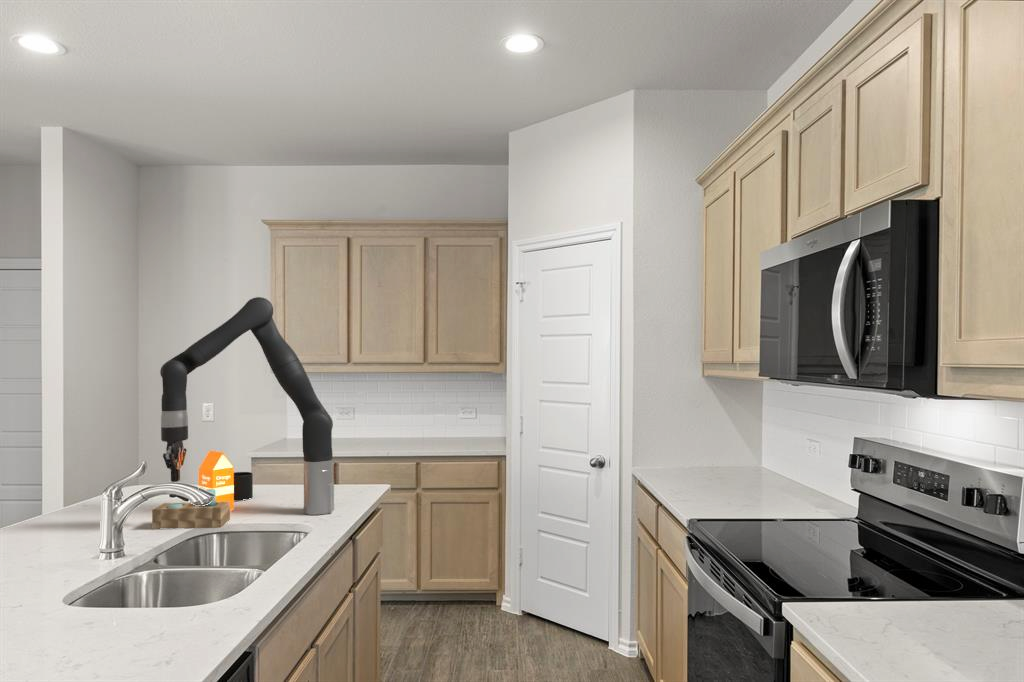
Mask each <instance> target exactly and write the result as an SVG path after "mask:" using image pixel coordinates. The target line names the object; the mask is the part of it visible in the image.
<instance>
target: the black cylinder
mask: <svg viewBox="0 0 1024 682" xmlns="http://www.w3.org/2000/svg"><path fill="white" fill-rule="evenodd" d="M253 481H254V480H253V472H250V471H236V472H234V500H243V499H249V498H251V499H253V497H254V496H253V494H254V493H253V492H254V491H253V490H254V489H253V487H254V486H253V485H254V483H253ZM249 500H250V499H249Z"/></svg>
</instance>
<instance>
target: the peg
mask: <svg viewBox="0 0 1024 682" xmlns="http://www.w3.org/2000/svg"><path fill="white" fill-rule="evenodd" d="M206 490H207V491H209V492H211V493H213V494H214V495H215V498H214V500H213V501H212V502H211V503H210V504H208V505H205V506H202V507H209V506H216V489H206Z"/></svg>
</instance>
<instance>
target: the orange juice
mask: <svg viewBox="0 0 1024 682" xmlns="http://www.w3.org/2000/svg"><path fill="white" fill-rule="evenodd" d="M234 470H235V469H234V466H233V464H232V463H231V462H230V460H229V459H228V458H227V455H226V454H225V453H224V452H222V451H216V450H215V451H214V450H209V451H208V453H207V454H206V456H205V457H204V459H203V461H202V462H201V464H200V466H199V467H198V488H199V487H203V488H205V489H216V502H226V501H230V510H231V509H235V508H234V507H235V506H234V503H235V501H234V473H235V472H234Z"/></svg>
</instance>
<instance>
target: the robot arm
mask: <svg viewBox="0 0 1024 682" xmlns="http://www.w3.org/2000/svg"><path fill="white" fill-rule="evenodd" d="M273 315H274V306H273V305H272V303H271V301H270V300H269V299H268V298H264V297H261V296H256V297H253V298H251V299H249V300H248V301H247V302H246V303H245V304H244V305H243V306H242V307H241V308H240V309H239V310H238V311H237V312H236V313H235V314H234V315H233V316H231V317H230V318H228V320H226V321H225V322H223V323H222V324H221V325H219V326H218V327H216V328H215V329H213V330H211V332H209V333H207V334H206V335H204V336H203V337H201V338H200V339H199V340H197V341H196V342H194V343H193V344H191V345H190V346H188V347H187V348H186V349H185V350H184V351H182V352H180V353H179V354H177V355H175V356H174V357H172V358H171V359H169V360H167V361H166V362H165V363H164V364H163V365H162V366H161V367H160V370H159V373H160V377H161V378H162V394H161V413H160V414H161V415H160V435H161V436H160V437H161V439H160V440H161V442H166V447H165V453H163V454H162V457H163V460H164V463H165V467H166V468H167V469H169V470H170V482H172V483H175V482H176V483H177V482H180V481H181V469H182V466H184V462H185V459H186V455H187V451H188V450H187V448H184V443H183V442H184V441H187V440H188V439H189V417H188V410H187V409H188V408H187V407H188V405H187V383H188V375H189V374H190V373H192V372H193V371H195V370H196V369H197V368H199V367H202V366H203V365H205V364H207V363H208V362H209V361H211V360H212V359H214V358H215V357H216V356H218V355H220V353H221V352H223V351H224V350H225V349H227V348H228V346H230V345H231V344H232V343H233V342H235V341H236V340H237V339H238V338H239V337H241V336H243V335H244V334H245V333H247V332H249V331H251V333H252V334H253V336H254V337H255V339H256V340H257V341H258V344H259V345H260V348H261V349H262V352H263V354H264V356H265V359H266V361H267V363H268V365H269V367H270V369H271V371H272V373H273V375H274V376H275V378H276V380H277V382H278V384H279V385H280V387H281V388H282V389H283V391H284V392H285V394H287V396H288V397H289V398H290V399H291V401H292V402H293V403H294V404H295V407H296V408H297V410H298V412H299V414H300V416H301V419H302V421H303V423H302V429H301V430H302V431H301V432H302V453H303V454H302V455H303V513H304V514H305V515H309V516H311V515H312V516H313V515H314V516H315V515H316V516H317V515H318V516H319V515H327V514H332V513H333V512H334V510H335V482H334V480H333V478H334V477H333V475H334V474H333V470H334V469H333V448H332V446H333V444H332V443H333V441H332V440H333V439H332V438H333V437H332V436H333V435H332V434H333V433H332V430H333V427H334V426H333V425H334V422H333V419H332V417H331V415H330V414H329V413H328V411H327V410H326V408H325V407H324V405H323V404H322V403H321V401H320V400H319V397H318V396H317V394H316V393H315V390H314V388H313V385H312V383H311V380H310V379H309V378H310V377H308V374H307V372H306V370H305V368H304V366H303V364H302V363H301V361H300V359H299V357H298V355H297V354H296V352H295V351H294V349H293V348H292V347H291V346H290V345H289V344H288V342H287V341H286V340H285V338H283V336H282V335H281V333H280V332H279V330H278V328H277V325H276V323H275V321H274V318H273Z"/></svg>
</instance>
